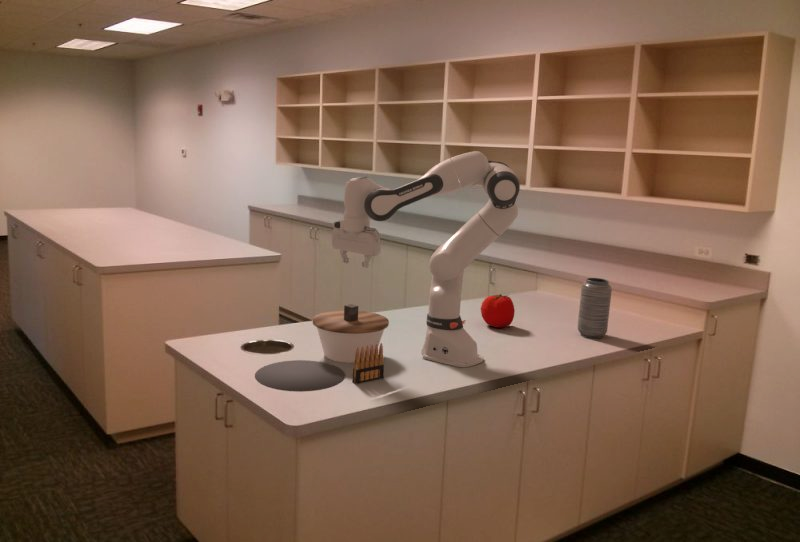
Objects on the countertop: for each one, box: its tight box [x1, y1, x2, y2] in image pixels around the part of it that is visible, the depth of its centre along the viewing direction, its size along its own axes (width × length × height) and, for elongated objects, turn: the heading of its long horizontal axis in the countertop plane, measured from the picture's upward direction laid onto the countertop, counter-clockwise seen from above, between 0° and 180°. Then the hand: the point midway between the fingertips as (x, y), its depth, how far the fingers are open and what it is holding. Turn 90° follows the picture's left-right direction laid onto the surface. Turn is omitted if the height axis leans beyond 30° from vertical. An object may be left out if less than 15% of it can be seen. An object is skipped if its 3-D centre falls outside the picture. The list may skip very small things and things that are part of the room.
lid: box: [312, 303, 390, 334], centre depth 234 cm, size 26×26×6 cm
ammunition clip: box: [352, 342, 385, 385], centre depth 212 cm, size 11×2×12 cm, turn 127°
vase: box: [577, 277, 613, 339], centre depth 275 cm, size 12×12×23 cm
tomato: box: [480, 293, 516, 329], centre depth 283 cm, size 16×14×14 cm
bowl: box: [316, 327, 385, 364], centre depth 236 cm, size 24×24×12 cm
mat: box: [254, 359, 346, 392], centre depth 215 cm, size 28×28×1 cm
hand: (355, 265), depth 234 cm, fingers open, 8 cm apart
